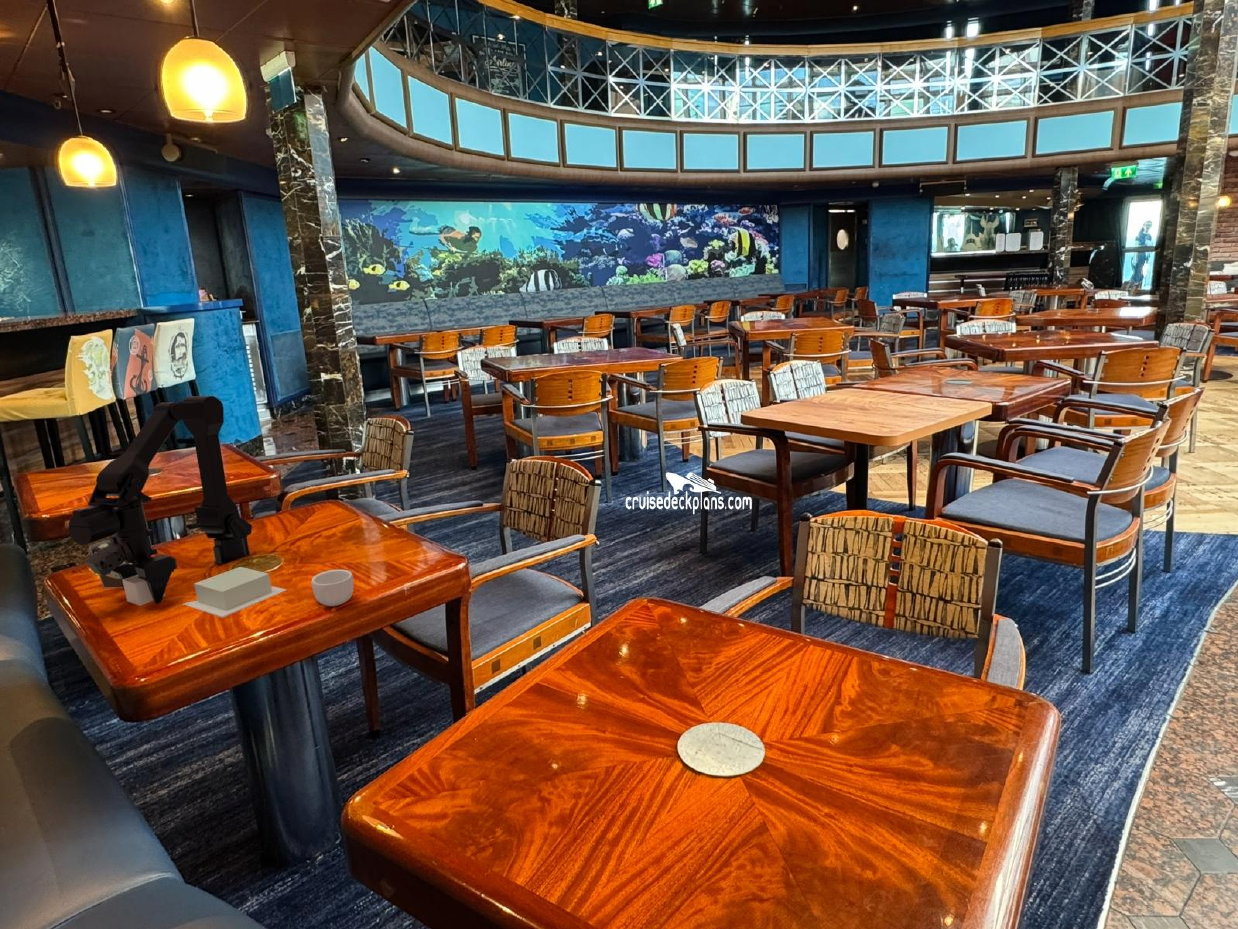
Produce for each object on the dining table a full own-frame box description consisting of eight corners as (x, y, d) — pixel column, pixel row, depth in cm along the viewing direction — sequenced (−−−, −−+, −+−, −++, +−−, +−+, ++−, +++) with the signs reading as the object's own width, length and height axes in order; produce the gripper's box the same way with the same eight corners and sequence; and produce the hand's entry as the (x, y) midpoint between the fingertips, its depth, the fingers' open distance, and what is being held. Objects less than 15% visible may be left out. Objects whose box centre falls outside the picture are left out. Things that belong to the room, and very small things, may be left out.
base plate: (247, 583, 161) (246, 579, 161) (287, 594, 154) (286, 589, 154) (183, 608, 150) (182, 604, 150) (223, 621, 143) (222, 616, 143)
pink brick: (153, 597, 157) (147, 571, 155) (166, 601, 154) (160, 575, 153) (128, 606, 153) (122, 579, 151) (141, 611, 150) (134, 583, 149)
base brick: (243, 584, 159) (240, 566, 158) (272, 591, 153) (268, 573, 153) (197, 601, 150) (194, 583, 149) (226, 610, 145) (222, 591, 144)
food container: (167, 577, 168) (158, 535, 165) (148, 588, 162) (139, 545, 160) (118, 577, 169) (108, 536, 167) (97, 588, 163) (86, 546, 161)
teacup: (363, 599, 150) (360, 574, 148) (329, 613, 144) (325, 588, 143) (335, 588, 156) (331, 564, 154) (301, 601, 150) (297, 577, 148)
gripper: (63, 534, 148) (81, 606, 151) (110, 547, 138) (128, 623, 142) (123, 518, 157) (138, 586, 160) (171, 529, 147) (186, 601, 151)
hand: (146, 599), depth 153 cm, fingers open, 9 cm apart
